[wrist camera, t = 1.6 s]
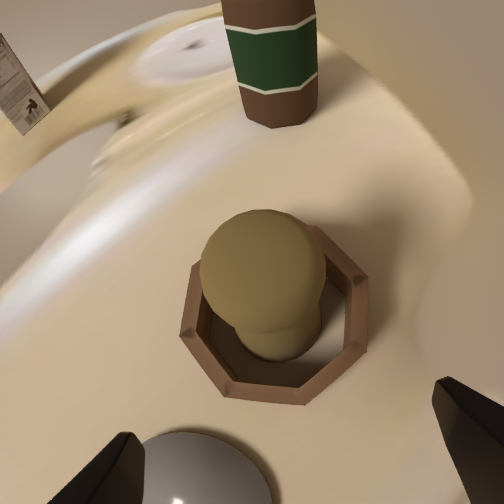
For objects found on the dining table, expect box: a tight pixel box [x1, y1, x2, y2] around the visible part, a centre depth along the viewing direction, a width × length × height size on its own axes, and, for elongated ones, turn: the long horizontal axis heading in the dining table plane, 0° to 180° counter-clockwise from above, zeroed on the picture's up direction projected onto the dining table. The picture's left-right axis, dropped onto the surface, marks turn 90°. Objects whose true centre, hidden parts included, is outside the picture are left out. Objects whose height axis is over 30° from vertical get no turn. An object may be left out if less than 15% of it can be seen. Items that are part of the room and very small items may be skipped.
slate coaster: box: [142, 432, 272, 504], centre depth 17 cm, size 11×11×1 cm
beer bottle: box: [221, 0, 318, 129], centre depth 20 cm, size 8×8×24 cm
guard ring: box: [179, 226, 368, 406], centre depth 20 cm, size 11×11×3 cm
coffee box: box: [0, 33, 51, 135], centre depth 33 cm, size 9×6×16 cm
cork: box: [199, 209, 326, 362], centre depth 17 cm, size 6×6×11 cm
